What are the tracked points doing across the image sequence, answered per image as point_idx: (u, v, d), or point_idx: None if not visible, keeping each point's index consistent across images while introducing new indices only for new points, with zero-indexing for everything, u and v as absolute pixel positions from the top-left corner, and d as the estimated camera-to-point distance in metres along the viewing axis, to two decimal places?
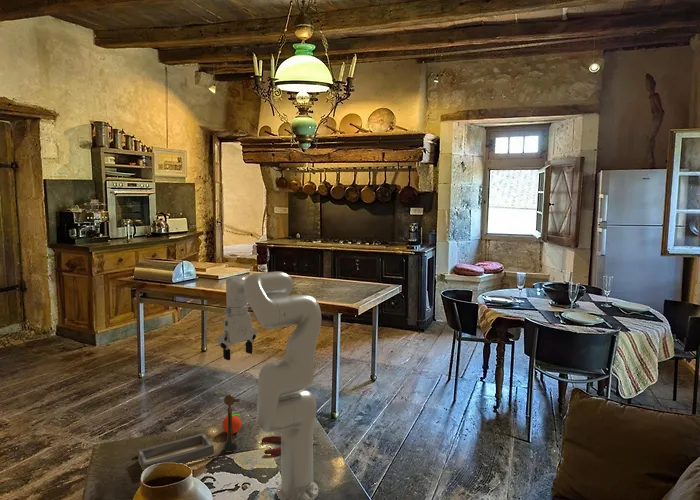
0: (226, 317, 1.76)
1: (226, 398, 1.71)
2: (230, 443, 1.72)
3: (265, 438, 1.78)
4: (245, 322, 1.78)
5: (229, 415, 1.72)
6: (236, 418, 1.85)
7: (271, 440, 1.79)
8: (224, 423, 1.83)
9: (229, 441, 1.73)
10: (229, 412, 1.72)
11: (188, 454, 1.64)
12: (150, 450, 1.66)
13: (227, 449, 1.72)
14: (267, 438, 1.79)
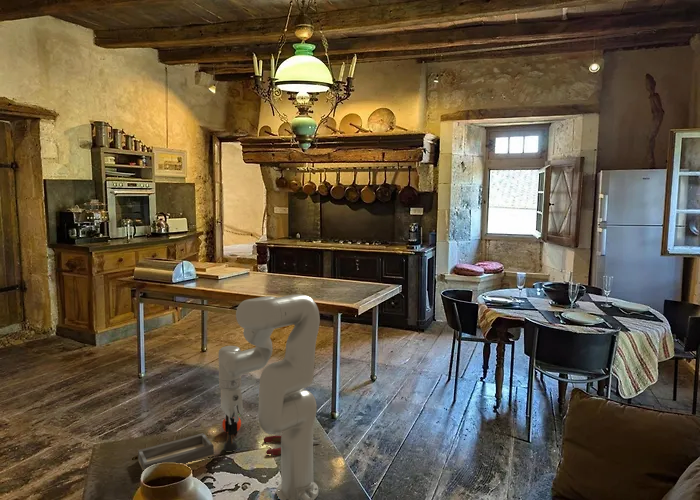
0: (233, 391, 1.68)
1: None
2: (230, 443, 1.72)
3: (267, 438, 1.79)
4: None
5: None
6: None
7: (273, 440, 1.79)
8: (224, 423, 1.83)
9: (229, 441, 1.73)
10: None
11: (188, 454, 1.64)
12: (150, 450, 1.66)
13: (227, 449, 1.71)
14: (269, 437, 1.79)
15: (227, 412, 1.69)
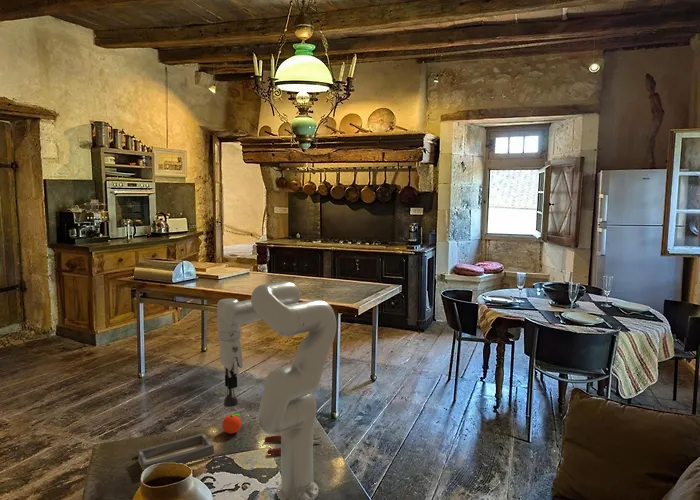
0: (233, 343, 1.66)
1: None
2: (230, 397, 1.70)
3: (268, 438, 1.79)
4: None
5: None
6: (236, 418, 1.85)
7: (274, 440, 1.79)
8: (224, 423, 1.83)
9: (229, 395, 1.70)
10: None
11: (188, 454, 1.64)
12: (150, 450, 1.66)
13: (227, 403, 1.69)
14: (270, 437, 1.79)
15: (226, 365, 1.67)
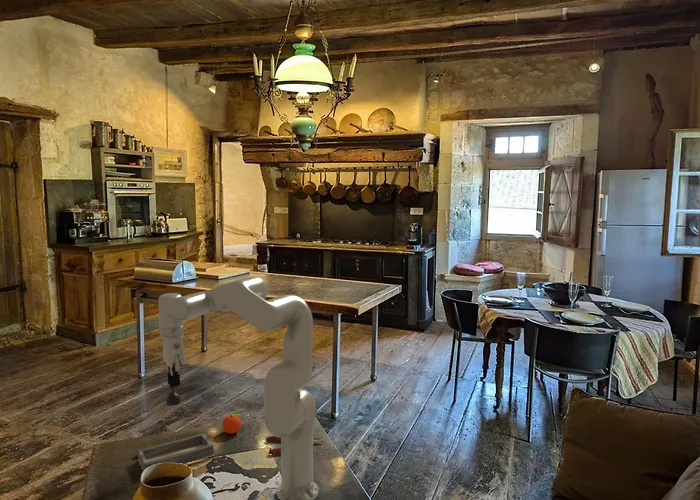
0: (174, 339, 1.59)
1: None
2: (172, 396, 1.63)
3: (269, 438, 1.79)
4: None
5: None
6: (236, 418, 1.85)
7: (275, 440, 1.79)
8: (224, 423, 1.83)
9: (172, 394, 1.64)
10: None
11: (188, 454, 1.64)
12: (150, 450, 1.66)
13: (169, 402, 1.62)
14: (272, 437, 1.79)
15: (168, 362, 1.60)
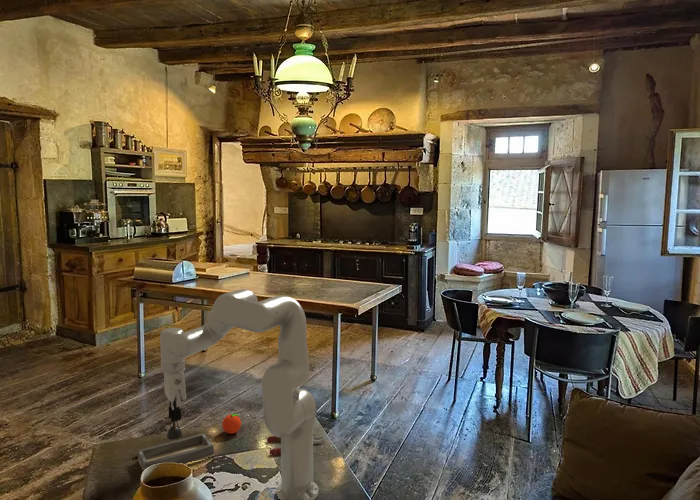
0: (175, 375, 1.60)
1: None
2: (173, 430, 1.64)
3: (270, 437, 1.79)
4: None
5: None
6: (236, 418, 1.85)
7: (276, 439, 1.80)
8: (224, 423, 1.83)
9: (173, 428, 1.65)
10: None
11: (188, 454, 1.64)
12: (150, 450, 1.66)
13: (170, 436, 1.64)
14: (273, 437, 1.79)
15: (169, 397, 1.61)
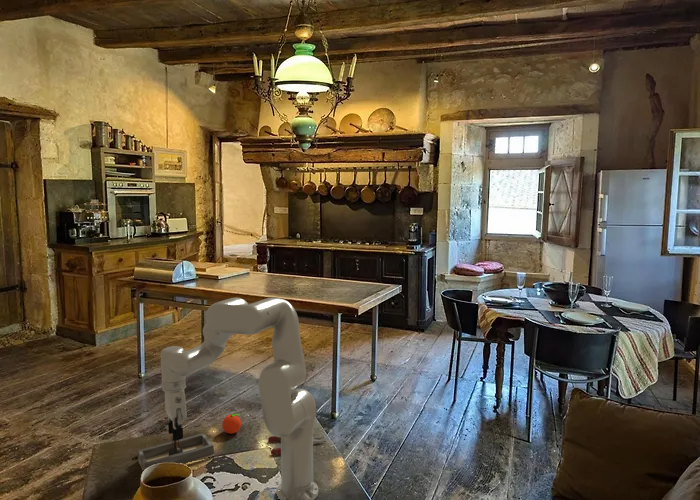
0: (176, 394, 1.61)
1: None
2: (175, 450, 1.65)
3: (272, 437, 1.79)
4: None
5: None
6: (236, 418, 1.85)
7: (277, 439, 1.80)
8: (224, 423, 1.83)
9: (174, 448, 1.66)
10: (174, 418, 1.65)
11: (188, 454, 1.64)
12: (150, 450, 1.66)
13: None
14: (274, 437, 1.79)
15: (170, 416, 1.62)
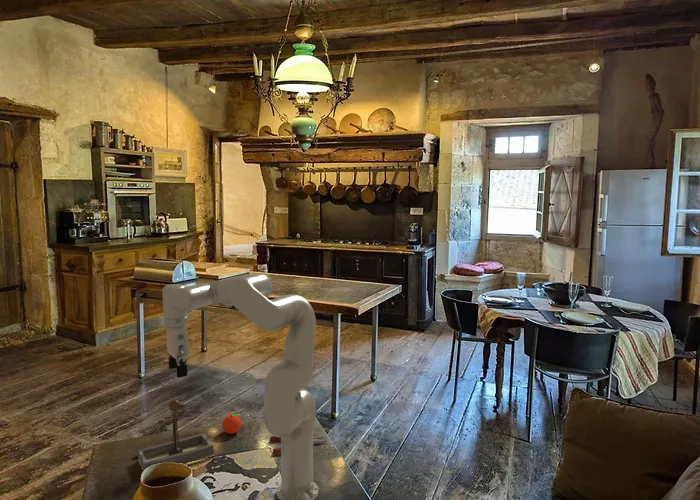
0: (178, 330, 1.59)
1: (171, 404, 1.64)
2: (175, 450, 1.65)
3: (273, 437, 1.79)
4: None
5: (174, 421, 1.65)
6: (236, 418, 1.85)
7: (279, 439, 1.80)
8: (224, 423, 1.83)
9: (174, 448, 1.66)
10: (174, 418, 1.65)
11: (188, 454, 1.64)
12: (150, 450, 1.66)
13: None
14: (275, 437, 1.79)
15: (172, 353, 1.60)
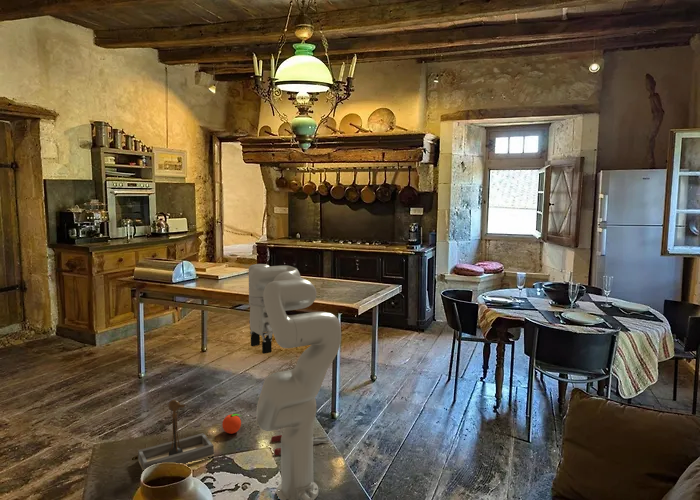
0: (264, 308, 1.65)
1: (170, 404, 1.64)
2: (175, 450, 1.65)
3: (275, 437, 1.79)
4: None
5: (174, 421, 1.65)
6: (236, 418, 1.85)
7: (280, 439, 1.80)
8: (224, 423, 1.83)
9: (174, 448, 1.66)
10: (174, 418, 1.65)
11: (188, 454, 1.64)
12: (150, 450, 1.66)
13: None
14: (277, 437, 1.79)
15: (257, 330, 1.66)
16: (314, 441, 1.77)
